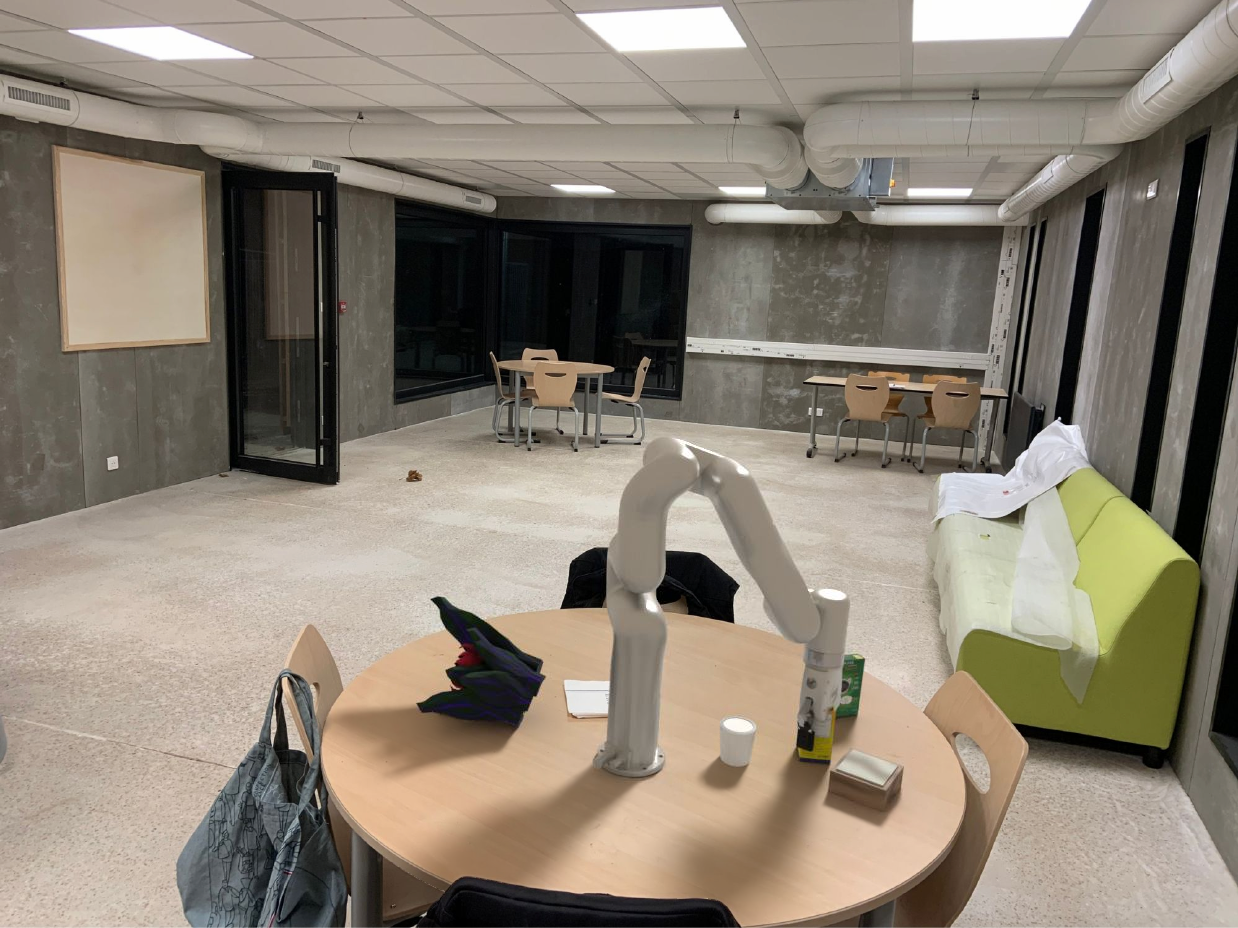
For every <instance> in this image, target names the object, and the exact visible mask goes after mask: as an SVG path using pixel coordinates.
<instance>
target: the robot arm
mask: <svg viewBox="0 0 1238 928" xmlns="http://www.w3.org/2000/svg"><path fill="white" fill-rule="evenodd" d="M687 492H690V493H693V494H697V495H699V496H702V497H705V498H708V499H709V500H710V502H711V504H712V506H713V508H714V509H715V511H716V514H717V516H718V518H719V520H720V522H721V524H722V526H723V528H724V531H725V532H726V534H727V536H728V538H729V542H730V543H731V545H732V548H733V549H734V552H735V554H736V556H737V557H738V559H739V560H740V562H741V565H742V566H743V568H744V570H745V571H747V573H748V575H750V577H751V578H752V579H753V580H754V582H755V583H756V585H757V586H758V589H759V590H760V592H761V593H762V595H763V600H762V608H763V610H764V613H765V615H766V617H767V618H768V620H769V621H770V622H771V623H772V624H773V626H774V627H775V628H776V629H777V631H778V632H779V633H780V635H782V637H783V638H784V639H785V640H787V641H788V642H790V643H793V644H797V645H802V644H803V651H802V662H803V664H805V666H804V669H803V673H802V674H803V675H802V681H801V686H800V692H799V693H800V694H799V700H798V701H799V703H798V713H797V715H796V716H797V717H796V718H797V721H796V722H797V726H796V727H797V731H796V732H797V733H796V744H795V745H796V748H797V747H798V748H801V749H804V750H807V751H809V752H812V751H813V748H814V738H815V731H813V730H814V727H815V724H816V721H817V720H819V721H824V720H825V719H827V718H828V716H829V711H830V709H831V708H832V707H833V706H834V707H835V710H836V709H837V708H838V706H839V705H840V701H841V688H842V667H843V664H844V655H846V654H845V653H846V643H847V637H848V636H847V635H848V627H849V625H848V624H849V618H850V609H851V602H850V601H851V600H850V598H849V596H848V595H847V594H846V593H845V592H843V591H840V590H838V589H833V588H817V589H811V588H809V587H808V585H807V584H806V582H805V581H804V577H803V576H802V575H801V572H800V571H799V569H798V567H797V565H796V563H795V562H794V559H793V558H792V556H791V553H790V552H789V549H788V547H787V545H786V544H785V541H784V540H783V538H782V536H781V534H780V532H779V529H778V528H777V526H776V523H775V521H774V519H773V517H772V515H771V512H770V510H769V508H768V506H767V504H766V502H765V499H764V497H763V494H762V492H761V491H760V489H759V486H758V484H757V481H756V480H755V478H754V476H753V475H752V474H751V473H750V472H749V470H748V469H746V468H745V467H743V466H742V465H741V464H740V463H738V462H737V461H736V460H734V459H732V458H729V457H727V456H723V455H721V454H718V453H715V452H714V451H713V452H712V451H710V450H707V449H704V448H702V447H699V446H697V445H694V444H691V443H689V442H687V441H684V440H681V439H679V438H676V437H672V436H662V437H657V438H655V439H653V440H652V441H650V442H649V444H648V445H647V446H646V448H645V450H644V451H643V455H642V467H641V468H640V469H639V470H638V471H637V472H636V473H635V474H634V475H633V476H631V478H630V480H629V481H628V483H627V484H626V486H625V487H624V489H623V492H622V494H621V497H620V502H619V509H618V523H617V532H616V533H615V534H614V535H613V537H612V538H611V540H610V542H609V544H608V548H607V556H606V612H607V615H608V618H609V621H610V626H611V628H612V637H613V638H612V639H613V640H612V649H611V656H610V668H609V687H608V689H609V691H608V692H609V693H608V704H607V705H608V706H607V707H608V708H607V710H608V711H607V723H606V741H604V742H603V743H601V745H600V746H598V749H597V756H596V757H595V758H593V760H592V764H593V767H594V768H595V769H597V770H598V769H599V770H600V769H601V768H604V769H605V770H606V771H608V772H610V773H613V774H615V775H618V776H621V777H627V778H629V777H631V778H638V777H639V778H641V777H646V776H650V775H653V774H655V773H657V772H659V771H660V770H661V769H662V768H663V767H664V765H665V763H666V753H665V751H664V749H663V748H661V746H660V745H659V744H658V743H659V729H660V728H659V727H660V714H661V713H660V712H661V697H662V683H663V670H664V669H663V668H664V659H665V652H666V648H667V643H668V635H669V634H668V632H669V631H668V630H669V629H668V623H667V619H666V618H667V617H666V615H665V613H664V610H663V609H662V607H661V605H660V602H658V600H657V588H659V586H660V585H661V583H662V582H663V580H664V577H665V573H666V568H667V567H666V565H667V563H666V561H667V559H666V545H667V544H666V541H667V539H666V538H667V523H668V522H667V521H668V514H669V511H670V509H671V506H672V505H673V504H674V503H675V502H676V501H677V499H678V498H680V497H682V496H683V495H685V494H686V493H687ZM810 709H811V711H813V712H814V715H812V714H809V711H810ZM807 718H810V719H812V721H811V724H809V722H808V721H806V720H807Z"/></svg>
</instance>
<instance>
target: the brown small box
mask: <svg viewBox="0 0 1238 928" xmlns="http://www.w3.org/2000/svg"><path fill="white" fill-rule="evenodd" d="M904 767H905V766H904V765H902V764H898V763H895V762H892V761H890V760H886V759H884V758H881V757H879V756H878V757H877V756H875V755H872V754H870V753H867V752H863V751H860V750H858V749H856V748H852V747H850V748H848V750H847V751H846V752H845V753H844V754H843V755H842V757H840V758H839V760H838V761H837V762H836V763H835V764H834V765H833V766H832V768H831V769H830V770H829V776H828V777H829V778H828V787H827V788H828V789H827V791H828V792H830V793H833V794H836V795H839V796H841V797H843V798H847V799H849V800H852V801H854V802H857V803H859V804H861V805H864V806H867V807H870V808H873V809H875V810H878V811H881V812H884V811H886V810H885V809H886V808H887V807H888V805H889V804H890V803H891V802H892V801H893V799H894V797H895V796H896V795H897V793H898V792H899V791H900V789H901V787H902V782H903V775H904Z"/></svg>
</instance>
